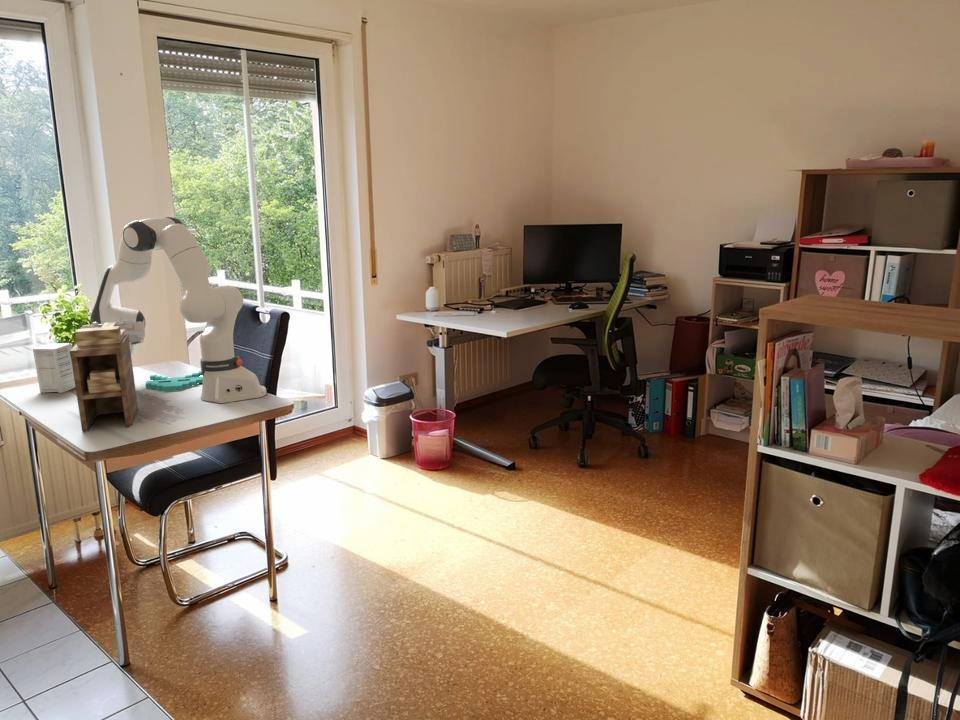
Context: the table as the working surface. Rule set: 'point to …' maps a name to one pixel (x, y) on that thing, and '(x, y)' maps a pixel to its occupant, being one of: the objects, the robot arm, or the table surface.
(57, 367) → the supplement box
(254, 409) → the table surface
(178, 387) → the alien figure
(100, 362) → the walnut shelf
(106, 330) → the plywood board
